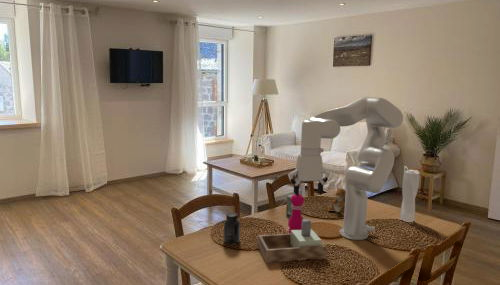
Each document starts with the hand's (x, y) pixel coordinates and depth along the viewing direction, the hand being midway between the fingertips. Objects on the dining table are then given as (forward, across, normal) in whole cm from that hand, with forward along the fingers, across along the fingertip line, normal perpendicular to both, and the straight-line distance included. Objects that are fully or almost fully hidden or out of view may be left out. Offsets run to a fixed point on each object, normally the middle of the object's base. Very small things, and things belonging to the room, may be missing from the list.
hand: (308, 194), depth 148 cm
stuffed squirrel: (+25, -36, -43) cm, 61 cm away
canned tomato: (+24, -8, -39) cm, 47 cm away
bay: (+24, +6, 0) cm, 25 cm away
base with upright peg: (+23, 0, 0) cm, 23 cm away
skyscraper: (+25, -63, -25) cm, 72 cm away
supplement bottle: (+24, +28, -14) cm, 40 cm away
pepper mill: (+24, -2, -18) cm, 30 cm away
